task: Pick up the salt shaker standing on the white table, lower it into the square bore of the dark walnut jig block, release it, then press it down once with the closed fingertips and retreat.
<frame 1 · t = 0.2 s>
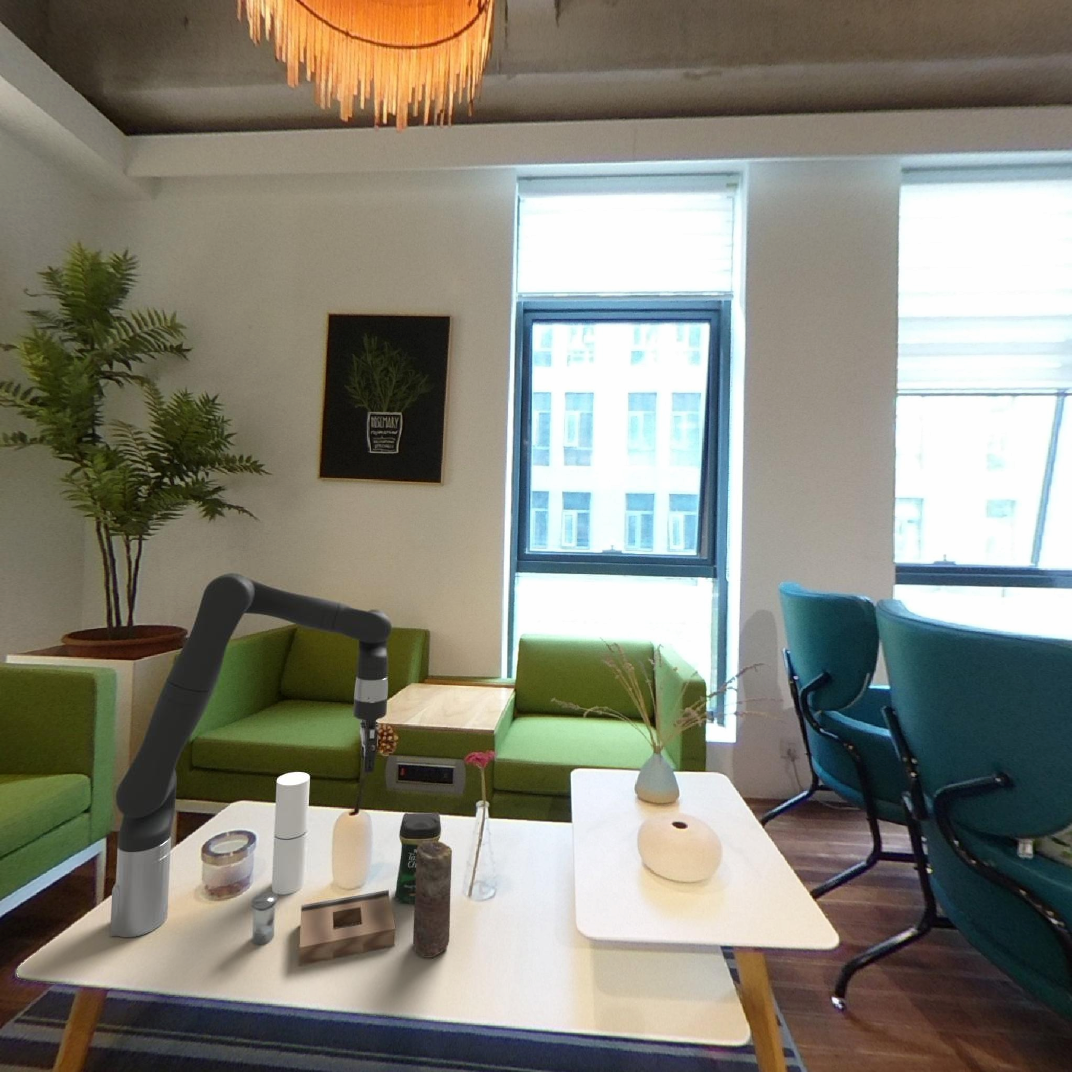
hand: (367, 764, 134), 29 cm above the table, fingers open, 8 cm apart
salt shaker: (263, 937, 116), on the table
coffee jar: (417, 895, 132), on the table
jig: (346, 934, 118), on the table
cylindrical container: (288, 885, 133), on the table
candle: (430, 946, 116), on the table
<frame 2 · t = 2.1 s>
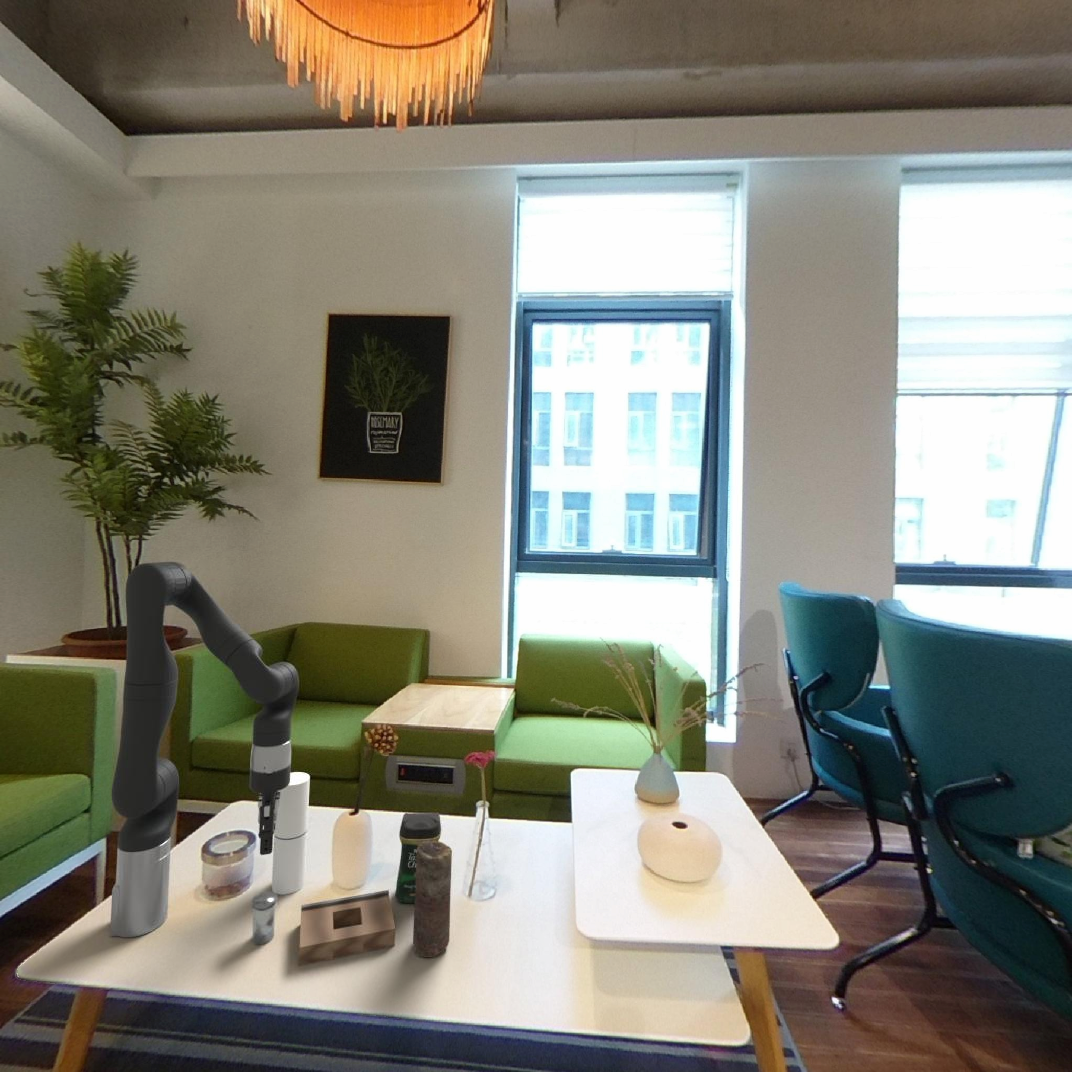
hand: (267, 842, 116), 20 cm above the table, fingers open, 8 cm apart
nothing on the table moved.
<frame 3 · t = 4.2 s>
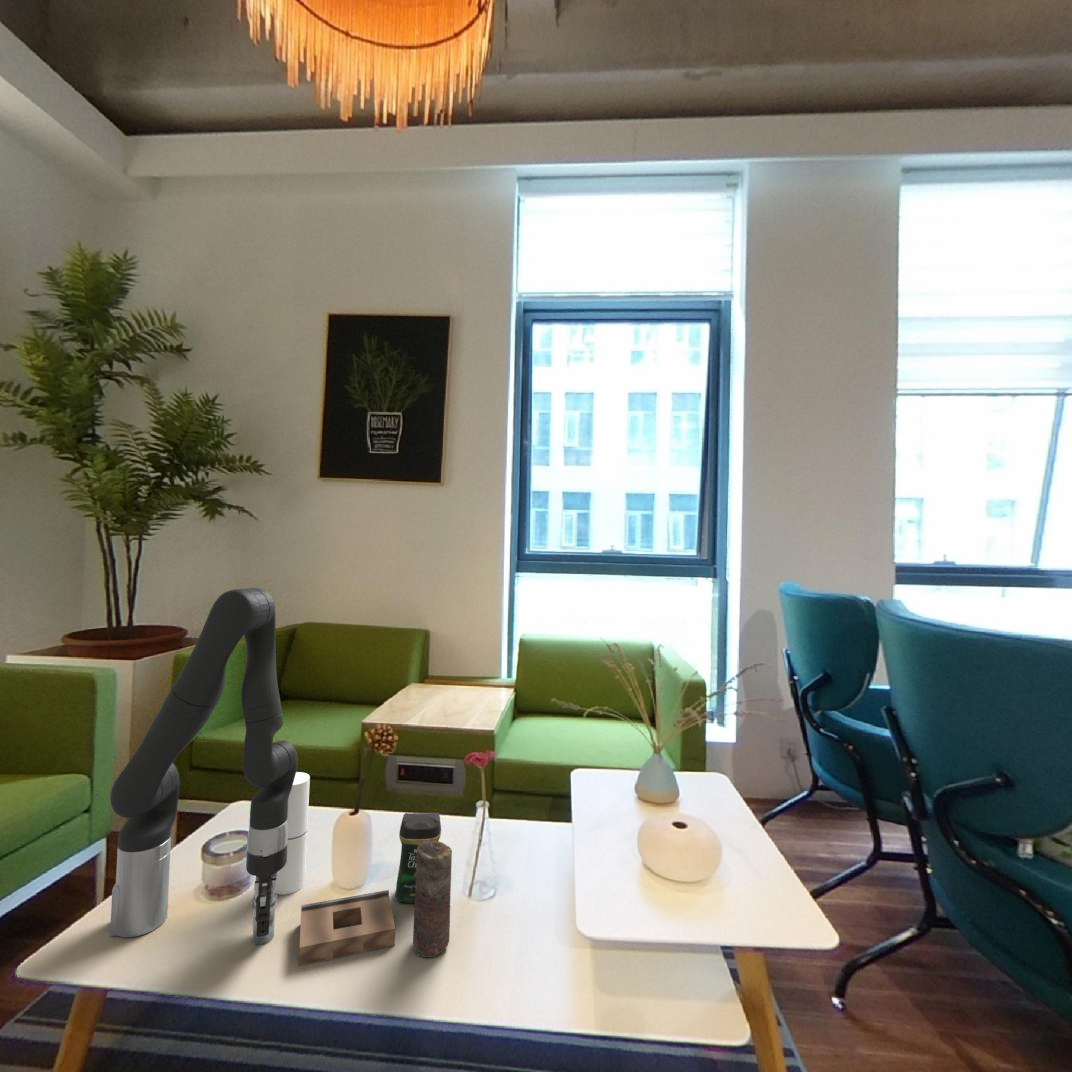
hand: (263, 926, 116), 2 cm above the table, fingers closed on salt shaker, 4 cm apart
salt shaker: (263, 937, 116), on the table, touching gripper
everything else where it was.
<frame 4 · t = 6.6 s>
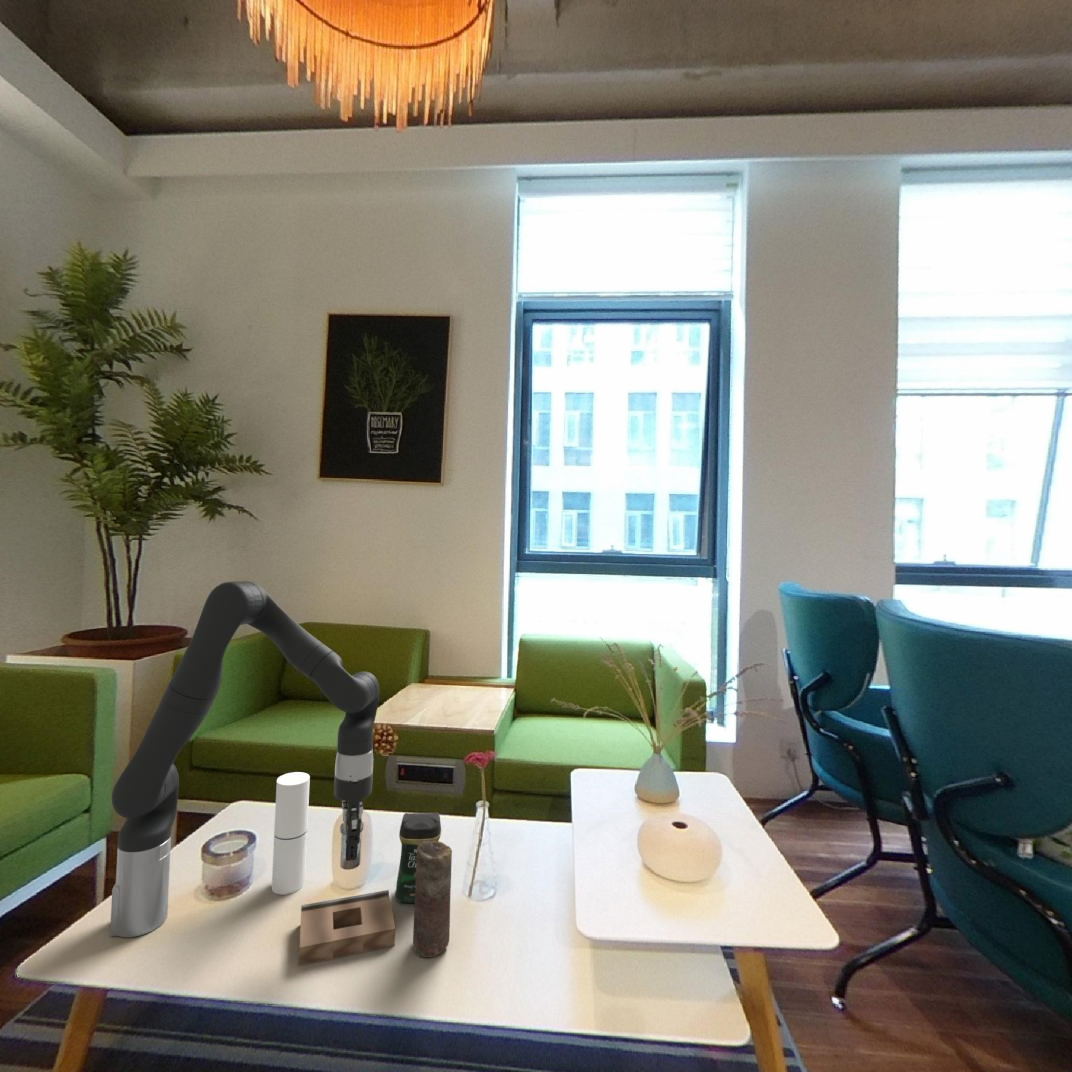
hand: (350, 853, 118), 17 cm above the table, fingers closed on salt shaker, 4 cm apart
salt shaker: (350, 863, 118), point 15 cm above the table, touching gripper
everything else where it was.
when the fingers open (4 cm above the table, at t = 8.8 s): salt shaker drops 2 cm, resting in jig.
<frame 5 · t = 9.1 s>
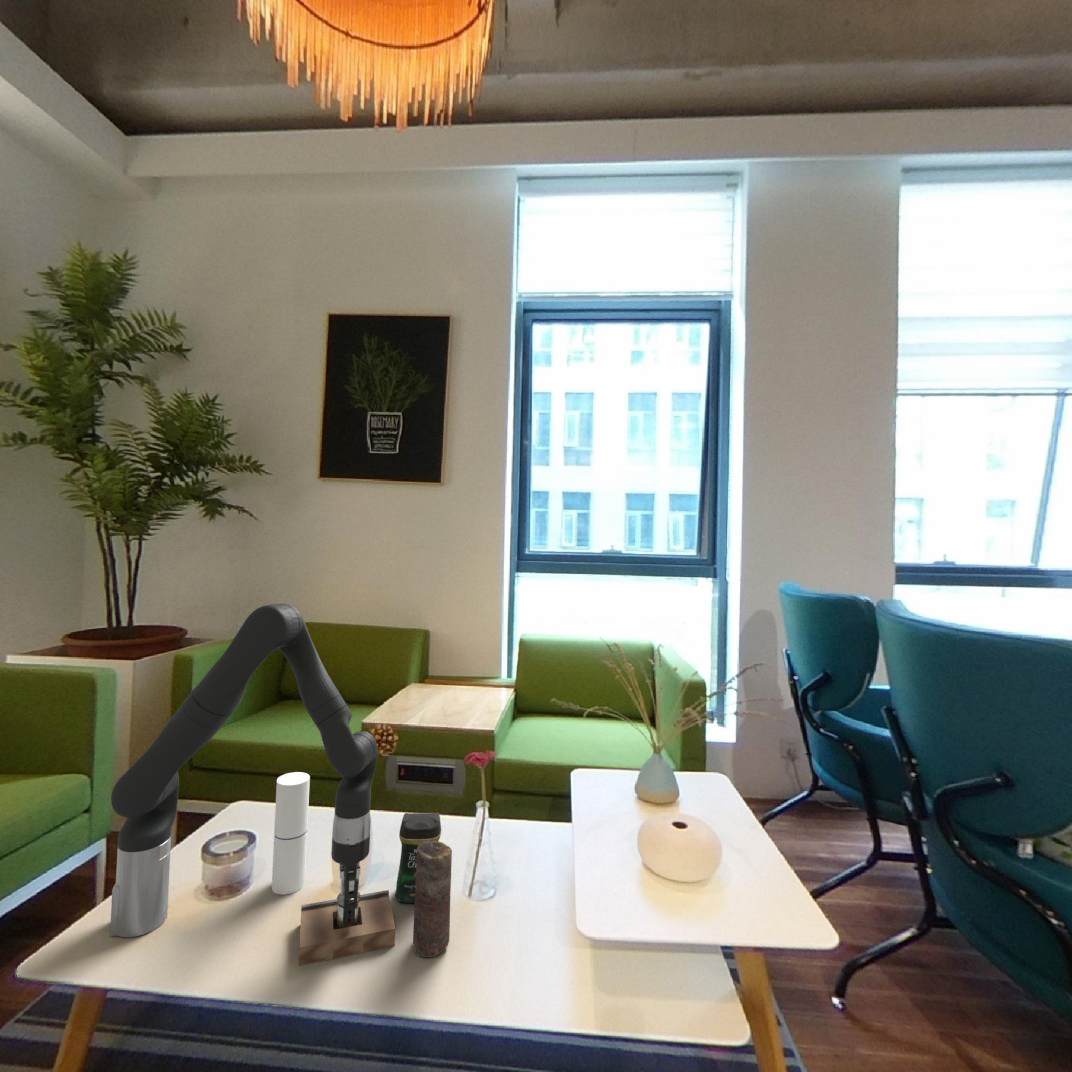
hand: (347, 912, 118), 5 cm above the table, fingers open, 6 cm apart
salt shaker: (346, 935, 118), resting in jig
everything else where it was.
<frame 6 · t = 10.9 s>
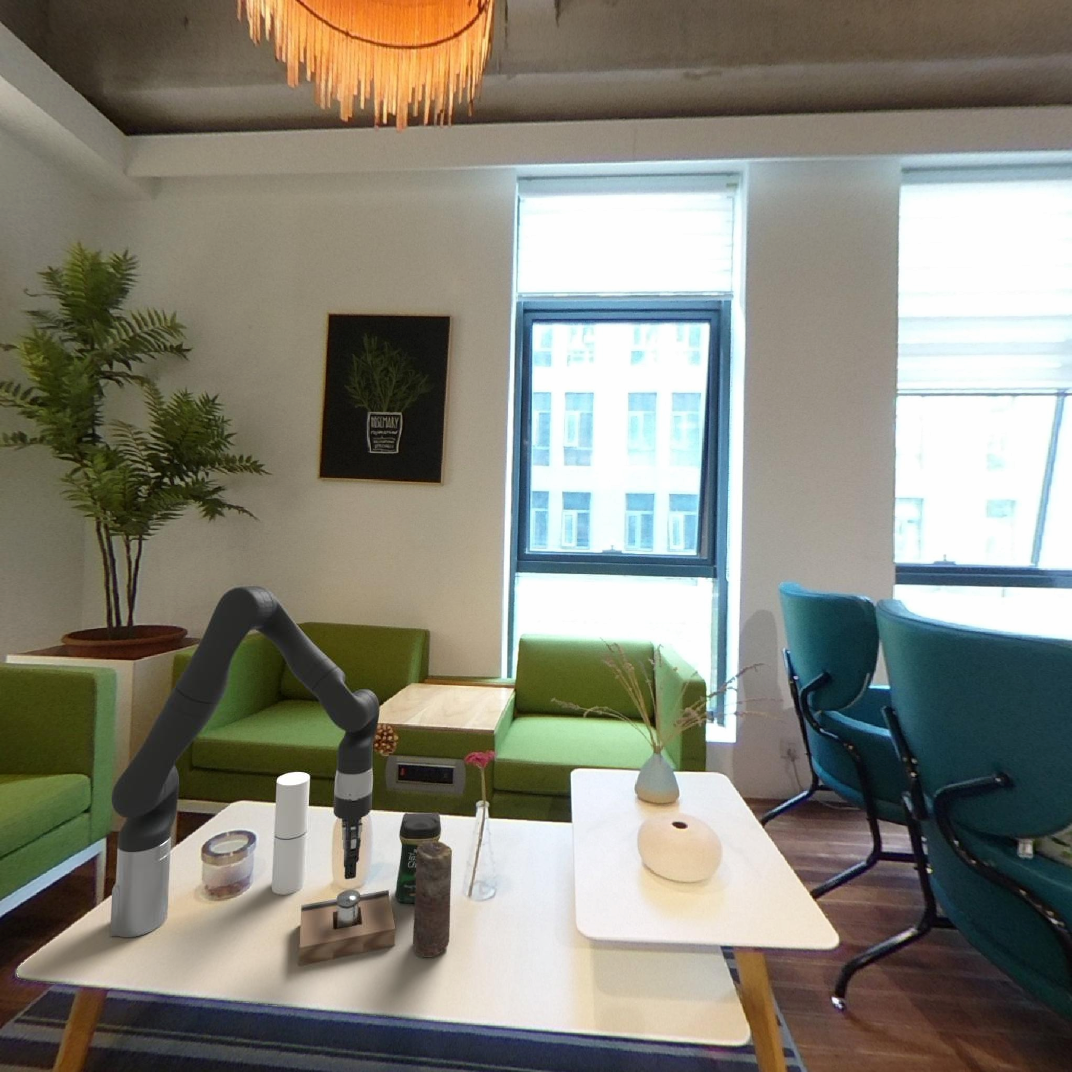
hand: (349, 871, 118), 13 cm above the table, fingers open, 3 cm apart
nothing on the table moved.
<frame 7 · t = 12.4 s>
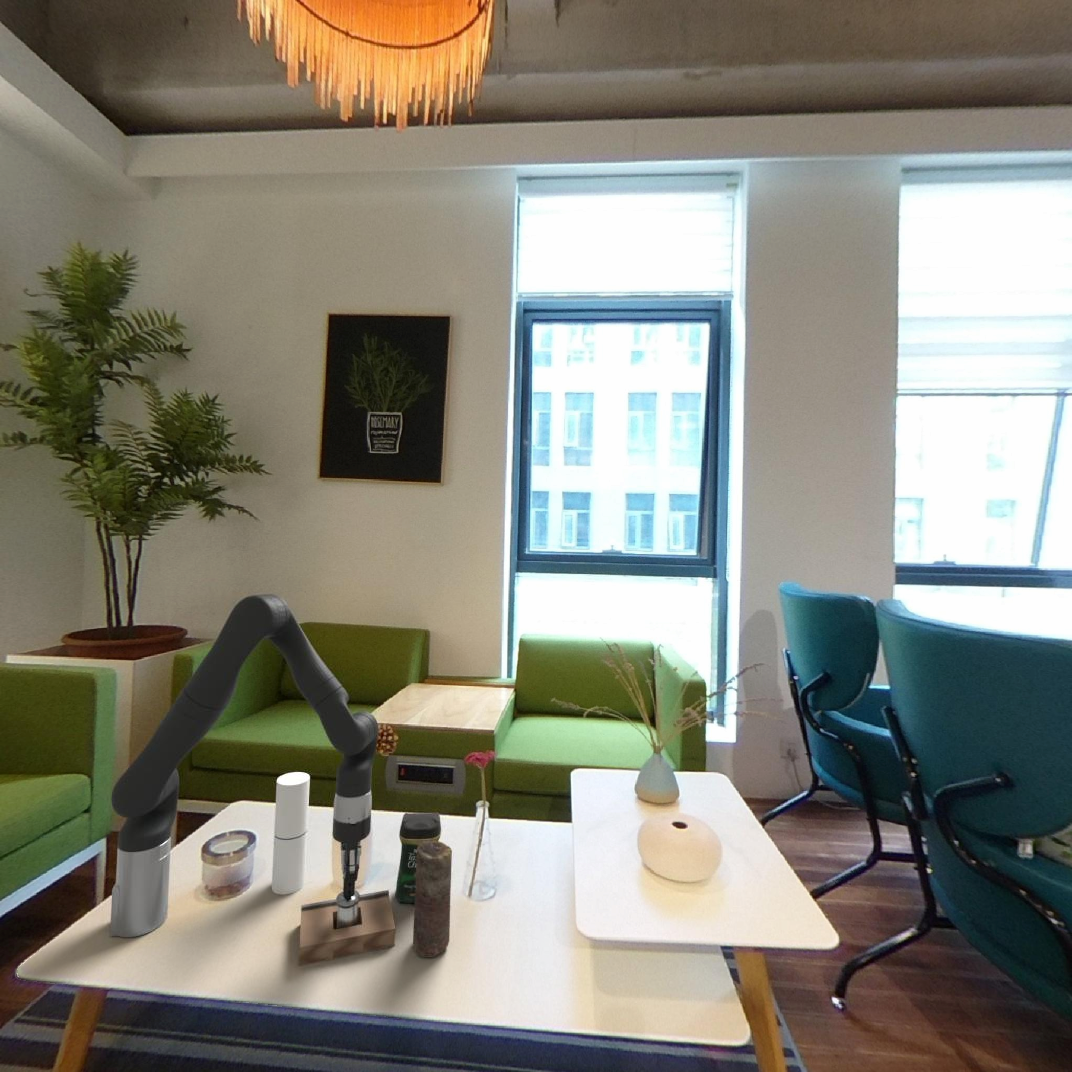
hand: (348, 895, 118), 8 cm above the table, fingers closed
nothing on the table moved.
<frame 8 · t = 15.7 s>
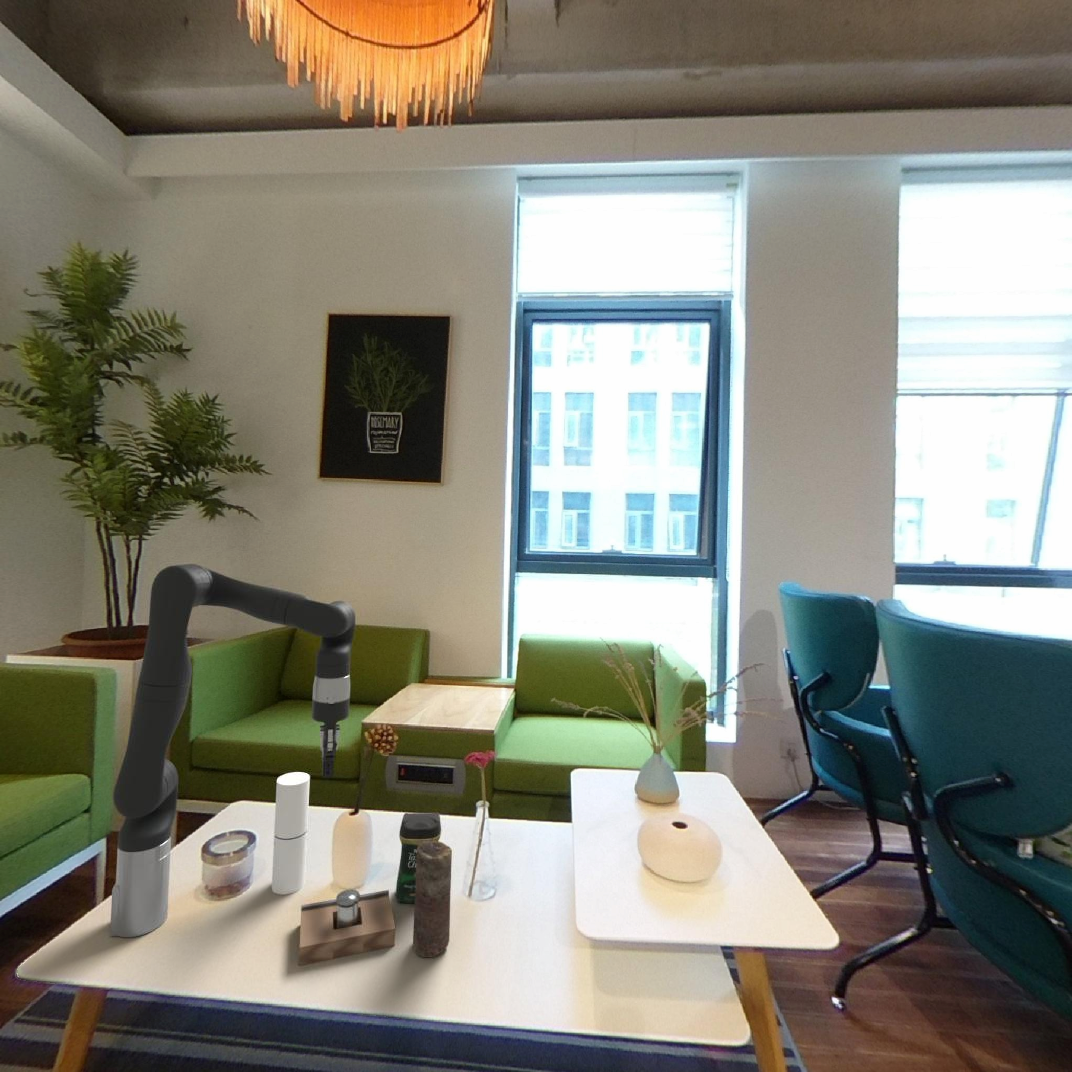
hand: (327, 776, 122), 31 cm above the table, fingers closed
nothing on the table moved.
at the end: salt shaker 0.1 cm off-centre on the jig, point 0.0 cm above the jig's base; salt shaker tilted 1°; the gripper is holding nothing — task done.
